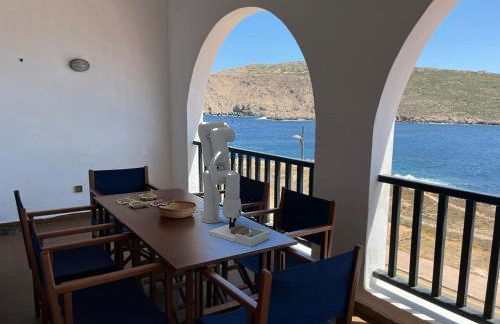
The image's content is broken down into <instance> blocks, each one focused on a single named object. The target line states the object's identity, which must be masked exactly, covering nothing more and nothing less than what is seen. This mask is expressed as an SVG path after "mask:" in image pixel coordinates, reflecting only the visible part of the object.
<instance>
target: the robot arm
mask: <svg viewBox="0 0 500 324" xmlns="http://www.w3.org/2000/svg"><path fill="white" fill-rule="evenodd" d="M197 134H198V139H199V140H200V144H201V151H202V152H201V153H202V162H203V165H204V166H205V167H207V168H208V169H206V170H204V171H203V172H202V175H201V179H202V185H203V211H201V212H200V213H199V215H200V216H201V218H200V221H201V222H202V223H205V224H217V223H221V222H222V221H223V218H222V217H220V203H221V202H220V199H221V197H220V189H218V187H217V186H216V185H218V186H219V185H225V190H224V191H225V192H224V195H225V197H224V198H223V202H222V209H221V210H222V216H224V218H226V220H227V222H228V224H229V229H231V227H234V226H236V222H237V221H240V220H241V216H242V200H241V198H240V191H241V188H240V184H241V183H240V181H241V179H240V178H241V176H240V173H239V172H236V171H235V170H233V169H232V170H231V161H230V156H229V153H230V150H229V147H228V146H229V145H228V143H232V142H234V141H235V140H236V132H235V130H234V128H232V126H230V124H228V123H227V122H226V121H213V120H212V121H210V120H209V121H208V120H207V121H202V122H200V123H199V124H198V126H197ZM217 167H220V168H217Z"/></svg>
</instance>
